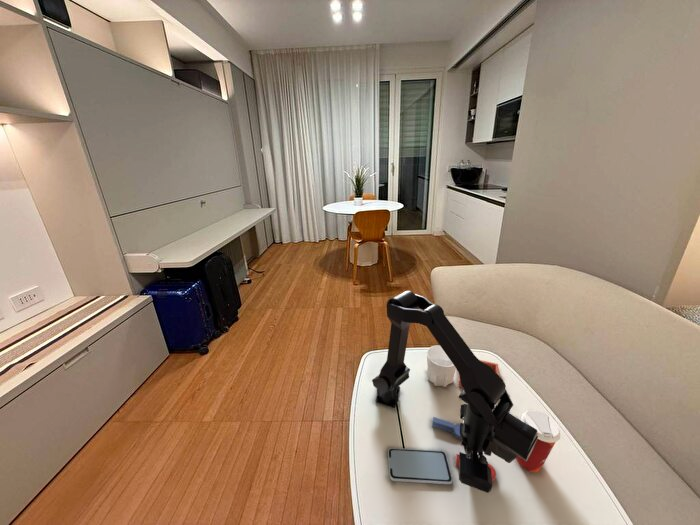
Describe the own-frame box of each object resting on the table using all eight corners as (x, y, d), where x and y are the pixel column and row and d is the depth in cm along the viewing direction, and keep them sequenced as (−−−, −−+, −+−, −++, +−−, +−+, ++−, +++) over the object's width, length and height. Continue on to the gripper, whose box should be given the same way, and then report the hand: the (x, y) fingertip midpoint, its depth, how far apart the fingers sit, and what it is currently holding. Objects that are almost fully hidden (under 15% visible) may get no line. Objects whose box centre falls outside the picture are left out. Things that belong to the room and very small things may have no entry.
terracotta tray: (458, 386, 89) (459, 380, 88) (458, 360, 100) (459, 355, 99) (500, 397, 84) (502, 391, 83) (496, 369, 95) (497, 363, 94)
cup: (425, 386, 89) (427, 364, 85) (424, 365, 98) (426, 343, 94) (456, 391, 87) (460, 368, 83) (452, 369, 96) (456, 347, 92)
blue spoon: (431, 430, 75) (432, 424, 75) (433, 418, 78) (433, 413, 78) (466, 441, 72) (467, 435, 71) (466, 429, 75) (467, 423, 74)
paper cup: (552, 480, 63) (569, 441, 58) (516, 473, 65) (530, 435, 59) (537, 447, 70) (551, 409, 65) (506, 441, 72) (517, 404, 66)
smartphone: (453, 483, 63) (389, 479, 63) (453, 485, 63) (389, 481, 64) (445, 450, 69) (387, 447, 70) (444, 453, 70) (387, 449, 71)
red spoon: (455, 469, 66) (456, 464, 65) (455, 455, 69) (456, 450, 68) (496, 484, 63) (497, 479, 62) (494, 468, 66) (496, 463, 65)
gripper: (528, 479, 49) (511, 524, 55) (513, 398, 65) (501, 440, 71) (463, 457, 53) (454, 501, 59) (464, 385, 69) (456, 426, 75)
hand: (468, 464), depth 66 cm, fingers open, 4 cm apart
